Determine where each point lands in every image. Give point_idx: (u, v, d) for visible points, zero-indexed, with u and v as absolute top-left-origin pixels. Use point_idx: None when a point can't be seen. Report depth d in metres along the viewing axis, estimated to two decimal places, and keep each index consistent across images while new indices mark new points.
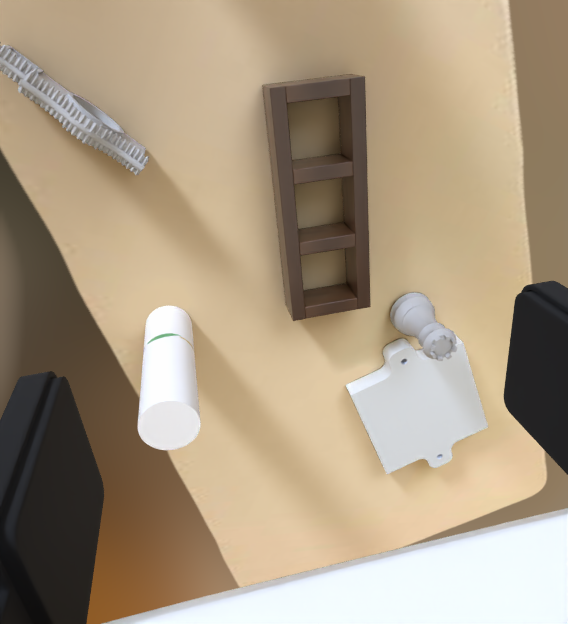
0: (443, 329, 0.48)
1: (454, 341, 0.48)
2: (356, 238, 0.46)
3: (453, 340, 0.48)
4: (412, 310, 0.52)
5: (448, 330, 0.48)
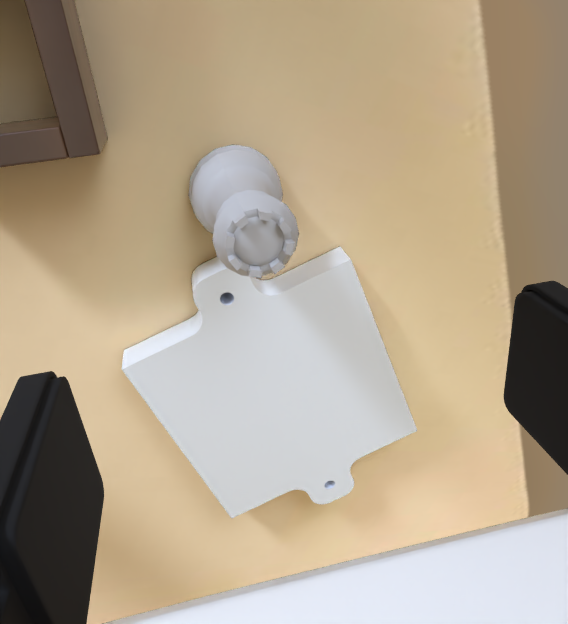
0: (258, 196, 0.19)
1: (283, 225, 0.19)
2: None
3: (281, 223, 0.19)
4: (220, 176, 0.23)
5: (272, 200, 0.19)
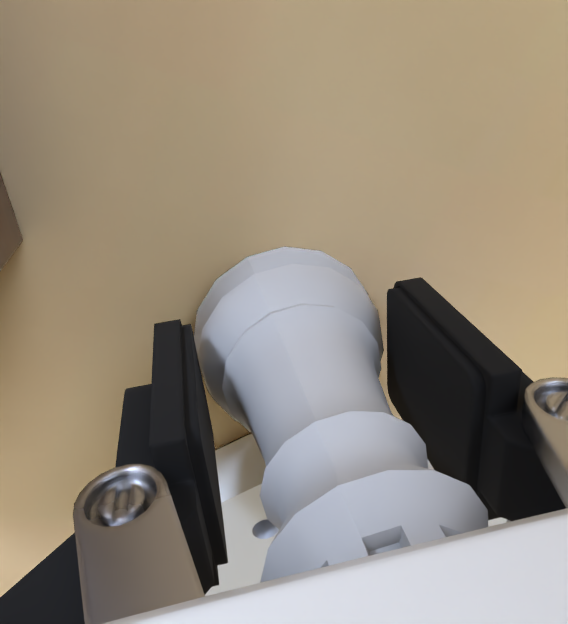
0: (399, 480, 0.07)
1: None
2: None
3: None
4: (263, 331, 0.10)
5: (436, 485, 0.07)
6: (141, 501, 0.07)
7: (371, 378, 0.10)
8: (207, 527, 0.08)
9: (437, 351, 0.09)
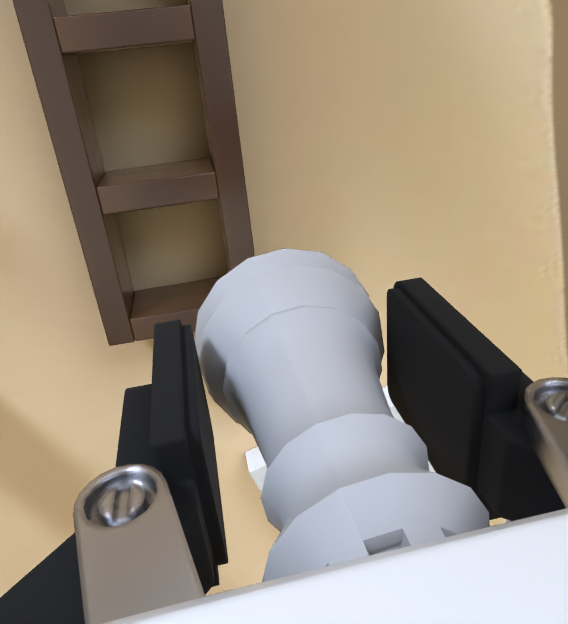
0: (401, 483, 0.07)
1: None
2: (218, 180, 0.23)
3: None
4: (264, 333, 0.10)
5: (438, 487, 0.07)
6: (141, 501, 0.07)
7: (372, 380, 0.10)
8: (207, 527, 0.08)
9: (437, 351, 0.09)
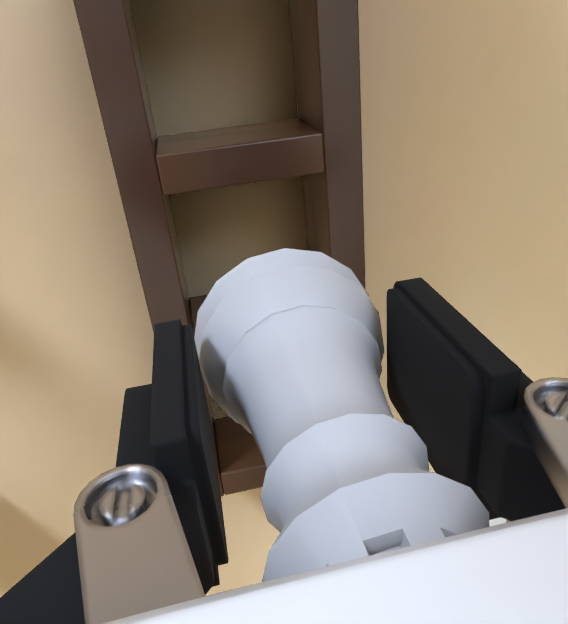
0: (401, 483, 0.07)
1: None
2: None
3: None
4: (264, 332, 0.10)
5: (438, 487, 0.07)
6: (141, 501, 0.07)
7: (372, 380, 0.10)
8: (207, 527, 0.08)
9: (437, 351, 0.09)
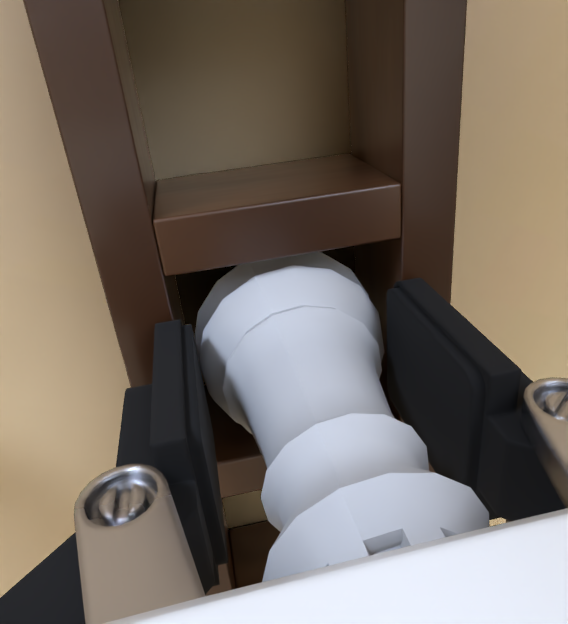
0: (401, 483, 0.07)
1: None
2: None
3: None
4: (264, 333, 0.10)
5: (438, 487, 0.07)
6: (141, 501, 0.07)
7: (372, 380, 0.10)
8: (208, 527, 0.08)
9: (437, 351, 0.09)
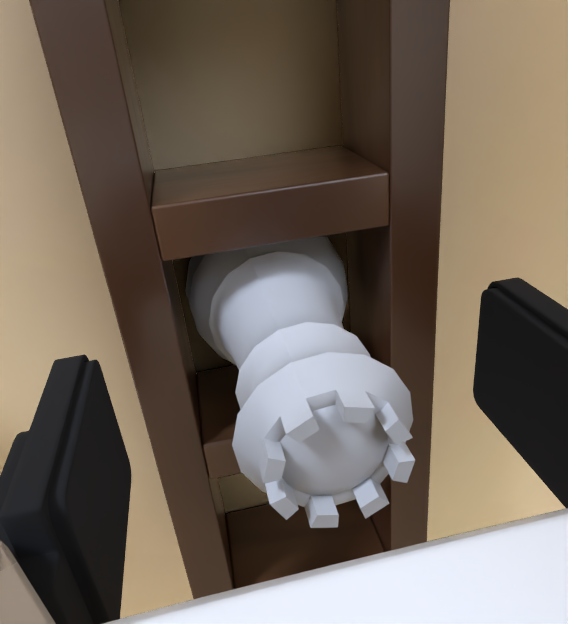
0: (337, 359, 0.09)
1: (396, 429, 0.08)
2: None
3: (390, 423, 0.08)
4: (243, 273, 0.13)
5: (366, 364, 0.09)
6: None
7: (330, 308, 0.12)
8: (85, 598, 0.08)
9: (557, 355, 0.09)
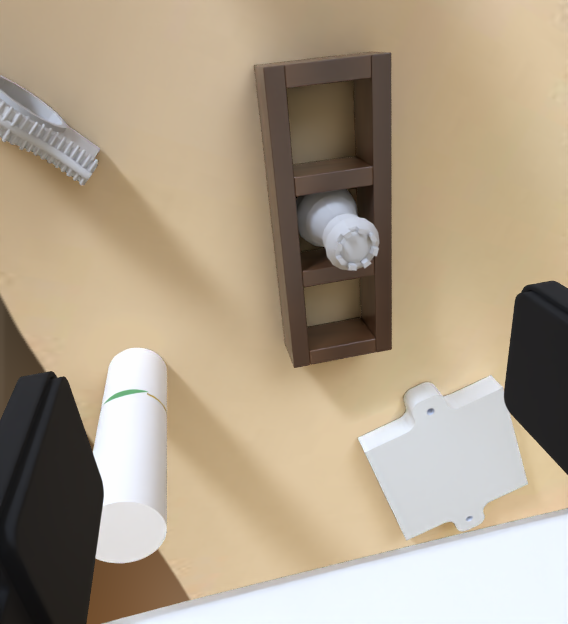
0: (356, 218, 0.30)
1: (373, 237, 0.30)
2: (375, 264, 0.36)
3: (371, 235, 0.30)
4: (319, 203, 0.34)
5: (364, 221, 0.30)
6: None
7: (352, 214, 0.33)
8: None
9: None
